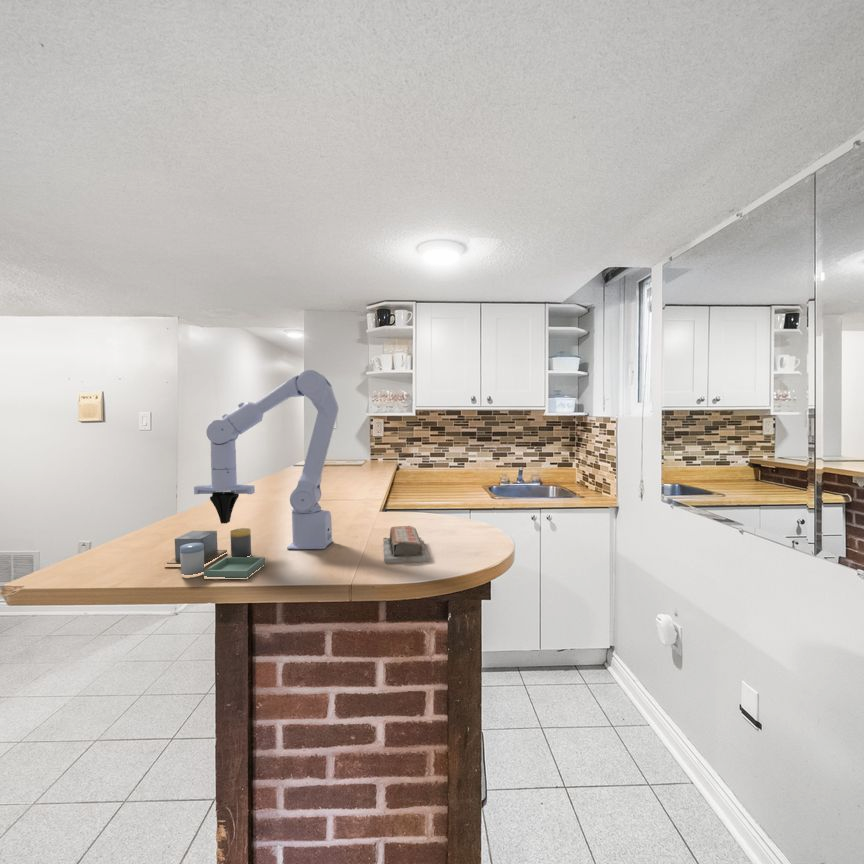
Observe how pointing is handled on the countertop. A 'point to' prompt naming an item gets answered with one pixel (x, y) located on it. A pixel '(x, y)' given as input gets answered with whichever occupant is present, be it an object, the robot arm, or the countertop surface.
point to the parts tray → (235, 567)
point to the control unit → (198, 537)
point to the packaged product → (404, 546)
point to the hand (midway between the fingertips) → (225, 522)
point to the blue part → (192, 558)
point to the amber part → (240, 542)
